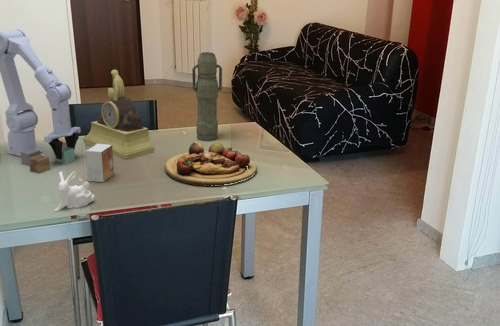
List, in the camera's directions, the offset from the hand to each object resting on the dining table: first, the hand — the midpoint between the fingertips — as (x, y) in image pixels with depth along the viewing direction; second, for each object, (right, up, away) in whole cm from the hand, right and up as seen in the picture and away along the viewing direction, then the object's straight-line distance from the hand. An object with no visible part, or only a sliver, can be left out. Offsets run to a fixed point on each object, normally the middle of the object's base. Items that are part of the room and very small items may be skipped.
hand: (65, 156), depth 181 cm
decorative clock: (+15, +4, +16) cm, 22 cm away
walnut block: (-5, -5, -9) cm, 11 cm away
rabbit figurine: (+14, -14, -32) cm, 38 cm away
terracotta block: (-4, +2, +9) cm, 10 cm away
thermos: (+48, +8, +31) cm, 58 cm away
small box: (+17, -7, -13) cm, 23 cm away
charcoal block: (-11, -2, -2) cm, 11 cm away
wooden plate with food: (+52, -5, -3) cm, 53 cm away
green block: (0, -2, +1) cm, 2 cm away
